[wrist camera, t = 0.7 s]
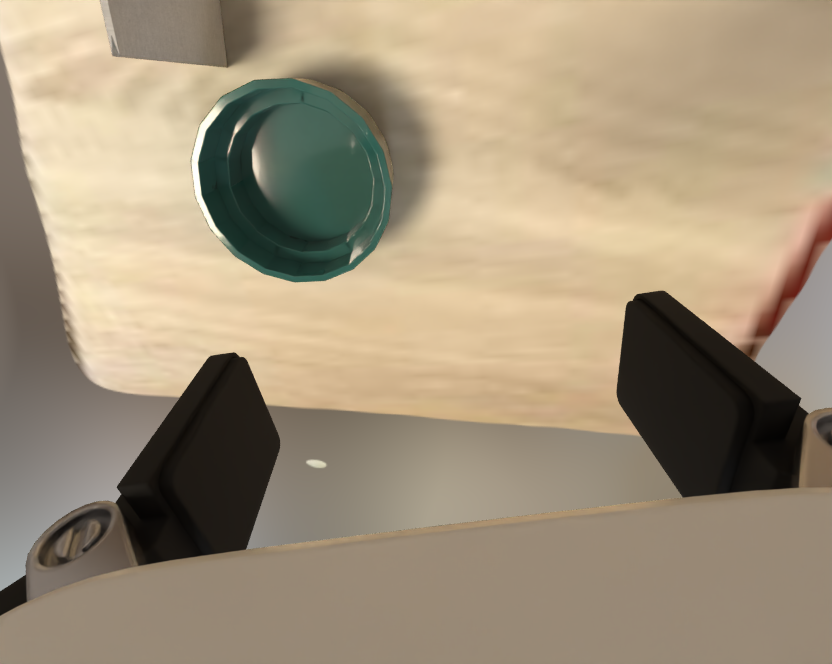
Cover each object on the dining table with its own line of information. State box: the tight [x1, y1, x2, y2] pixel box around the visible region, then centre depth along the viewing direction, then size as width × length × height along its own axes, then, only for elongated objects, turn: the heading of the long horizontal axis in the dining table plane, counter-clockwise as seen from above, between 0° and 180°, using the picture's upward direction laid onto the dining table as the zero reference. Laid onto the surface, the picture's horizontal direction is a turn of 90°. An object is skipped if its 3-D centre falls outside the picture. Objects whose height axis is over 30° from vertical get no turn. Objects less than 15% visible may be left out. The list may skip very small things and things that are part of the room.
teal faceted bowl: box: [191, 78, 394, 282], centre depth 31 cm, size 13×13×6 cm
